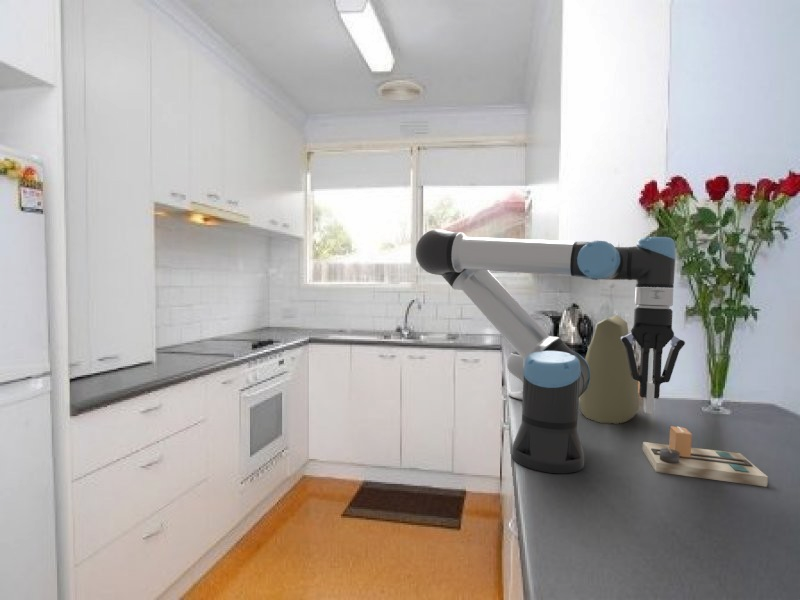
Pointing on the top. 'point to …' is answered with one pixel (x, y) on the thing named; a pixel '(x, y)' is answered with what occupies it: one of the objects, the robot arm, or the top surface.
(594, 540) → the top surface
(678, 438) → the fader knob
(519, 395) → the chalice
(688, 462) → the console
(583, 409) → the container
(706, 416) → the top surface
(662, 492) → the top surface
